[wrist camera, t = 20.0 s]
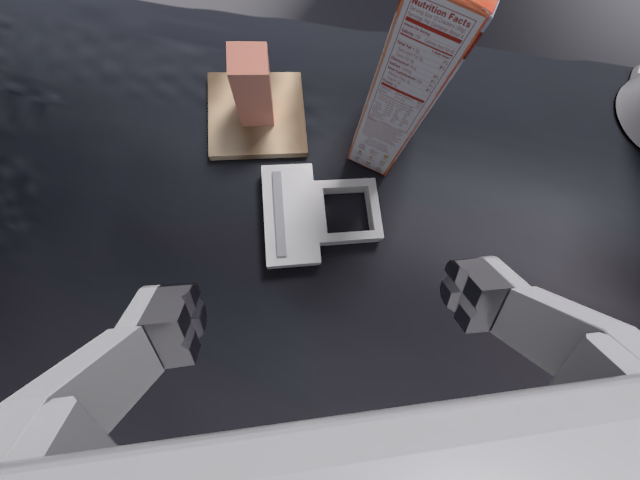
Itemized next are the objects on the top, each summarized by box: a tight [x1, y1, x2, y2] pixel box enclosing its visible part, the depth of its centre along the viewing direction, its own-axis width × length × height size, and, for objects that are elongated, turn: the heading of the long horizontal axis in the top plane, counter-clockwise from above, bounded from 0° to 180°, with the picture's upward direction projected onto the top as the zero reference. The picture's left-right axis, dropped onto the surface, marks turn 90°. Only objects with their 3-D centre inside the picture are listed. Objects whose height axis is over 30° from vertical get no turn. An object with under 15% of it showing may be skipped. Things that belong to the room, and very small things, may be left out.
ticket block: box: [226, 41, 274, 127], centre depth 31 cm, size 4×4×8 cm
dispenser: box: [261, 163, 384, 269], centre depth 33 cm, size 14×12×2 cm
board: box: [208, 72, 308, 161], centre depth 36 cm, size 12×12×1 cm
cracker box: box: [347, 0, 500, 176], centre depth 28 cm, size 14×6×21 cm, turn 155°
